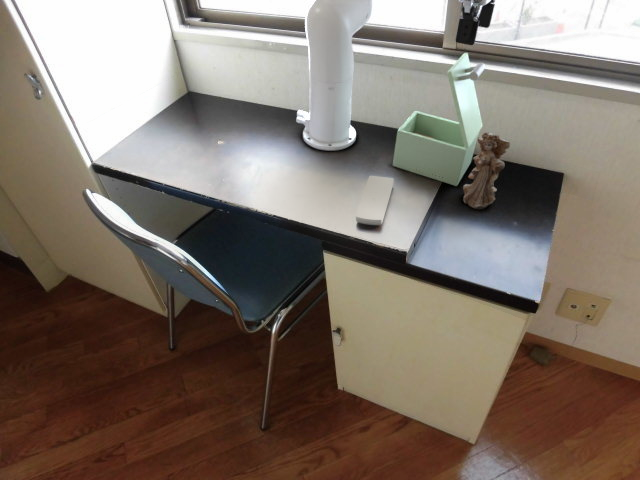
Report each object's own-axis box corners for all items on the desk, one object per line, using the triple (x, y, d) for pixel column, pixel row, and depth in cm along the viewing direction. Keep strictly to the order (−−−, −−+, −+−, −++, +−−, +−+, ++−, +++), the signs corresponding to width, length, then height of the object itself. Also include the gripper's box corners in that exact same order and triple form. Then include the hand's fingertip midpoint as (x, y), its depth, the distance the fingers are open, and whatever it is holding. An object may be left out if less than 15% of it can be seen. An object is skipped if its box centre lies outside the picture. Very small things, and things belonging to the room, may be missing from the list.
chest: (392, 165, 104) (397, 130, 98) (409, 144, 111) (415, 110, 105) (456, 186, 99) (466, 150, 93) (470, 163, 105) (480, 128, 99)
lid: (447, 72, 86) (471, 66, 83) (463, 53, 92) (486, 48, 89) (464, 148, 93) (487, 146, 90) (479, 126, 99) (500, 123, 97)
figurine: (451, 200, 96) (469, 134, 85) (464, 186, 99) (482, 121, 89) (486, 215, 92) (508, 148, 82) (498, 200, 96) (521, 134, 86)
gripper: (487, -90, 80) (466, 17, 91) (455, -73, 69) (436, 46, 80) (533, -87, 77) (505, 23, 89) (508, -68, 66) (480, 55, 78)
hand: (472, 34), depth 84 cm, fingers open, 9 cm apart
